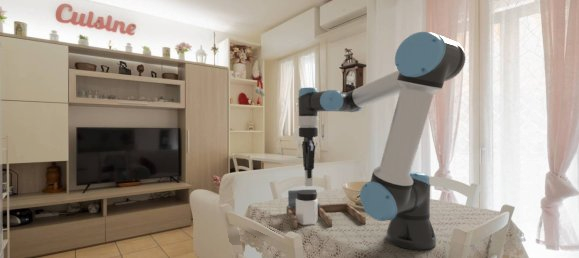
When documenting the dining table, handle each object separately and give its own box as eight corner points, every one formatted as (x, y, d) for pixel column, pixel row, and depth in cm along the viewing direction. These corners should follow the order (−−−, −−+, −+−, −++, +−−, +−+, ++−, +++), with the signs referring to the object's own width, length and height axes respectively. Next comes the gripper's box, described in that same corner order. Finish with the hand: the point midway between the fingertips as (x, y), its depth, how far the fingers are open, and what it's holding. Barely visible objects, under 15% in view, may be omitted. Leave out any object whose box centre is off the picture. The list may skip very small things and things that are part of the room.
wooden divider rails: (365, 224, 113) (365, 198, 113) (294, 229, 108) (294, 202, 108) (346, 209, 133) (346, 187, 132) (286, 213, 128) (286, 190, 128)
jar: (322, 222, 116) (321, 192, 116) (307, 226, 111) (306, 195, 111) (306, 216, 123) (306, 188, 123) (292, 220, 118) (291, 191, 118)
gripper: (321, 127, 110) (322, 189, 111) (313, 126, 123) (313, 182, 124) (302, 127, 109) (303, 189, 110) (295, 126, 122) (296, 182, 122)
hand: (308, 185), depth 117 cm, fingers closed
